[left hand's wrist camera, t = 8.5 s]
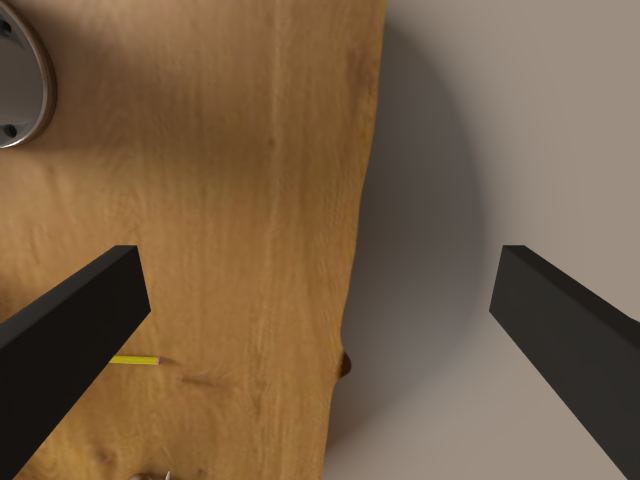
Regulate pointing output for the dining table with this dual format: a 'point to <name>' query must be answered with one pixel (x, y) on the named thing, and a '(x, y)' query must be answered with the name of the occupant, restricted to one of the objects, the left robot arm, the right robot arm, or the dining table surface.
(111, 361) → the pencil
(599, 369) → the left robot arm
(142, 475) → the toy
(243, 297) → the dining table surface
